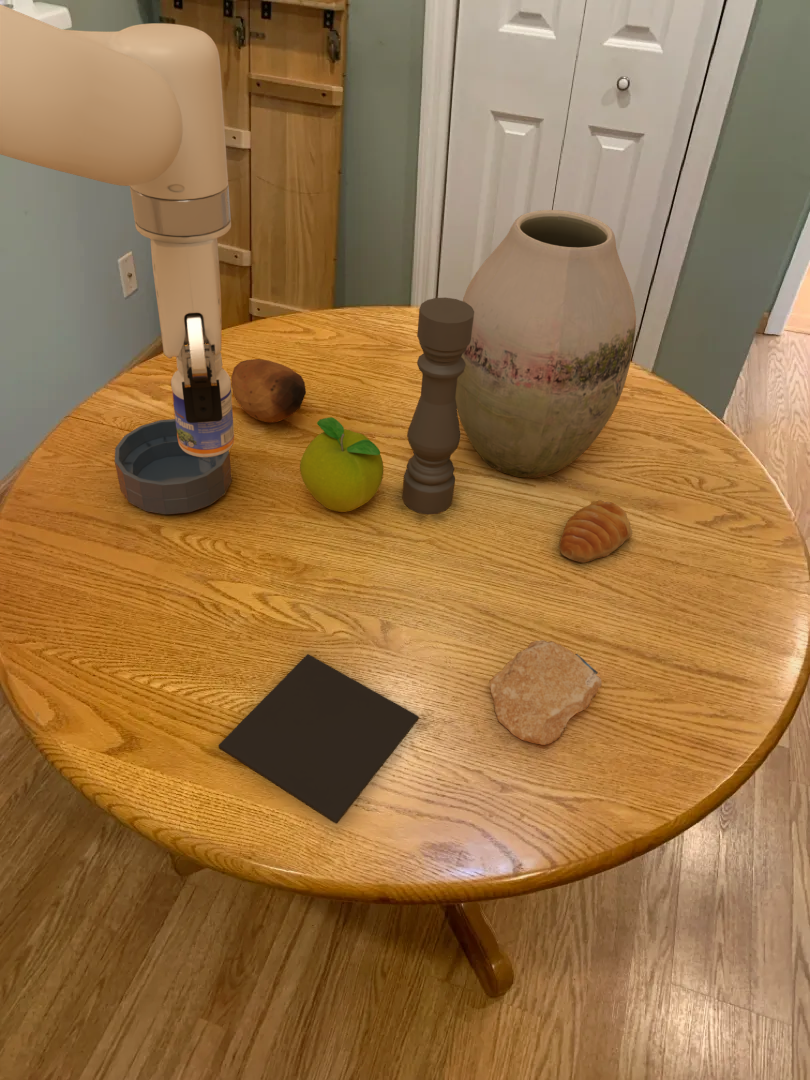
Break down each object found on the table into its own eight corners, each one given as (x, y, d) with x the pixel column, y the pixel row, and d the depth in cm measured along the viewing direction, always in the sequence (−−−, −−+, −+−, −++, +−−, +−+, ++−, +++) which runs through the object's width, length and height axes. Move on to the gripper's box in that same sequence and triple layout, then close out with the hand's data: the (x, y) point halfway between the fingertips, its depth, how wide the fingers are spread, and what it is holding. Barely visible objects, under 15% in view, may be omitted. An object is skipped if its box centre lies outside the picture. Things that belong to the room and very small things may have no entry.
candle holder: (427, 476, 107) (445, 291, 90) (462, 500, 104) (489, 312, 87) (391, 496, 103) (404, 307, 87) (427, 521, 100) (448, 330, 84)
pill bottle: (170, 435, 83) (157, 346, 76) (222, 421, 85) (214, 334, 79) (190, 465, 79) (179, 374, 73) (244, 450, 82) (237, 361, 75)
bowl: (178, 532, 96) (173, 499, 93) (98, 489, 101) (90, 456, 98) (253, 477, 105) (251, 444, 101) (175, 439, 109) (171, 407, 106)
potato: (240, 420, 119) (271, 374, 120) (298, 444, 110) (331, 395, 111) (204, 389, 113) (237, 341, 115) (262, 412, 105) (298, 360, 106)
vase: (591, 412, 120) (643, 199, 100) (614, 508, 104) (681, 277, 84) (442, 402, 120) (464, 186, 100) (442, 496, 104) (469, 262, 84)
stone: (606, 697, 82) (617, 667, 79) (537, 758, 77) (545, 728, 74) (541, 647, 87) (548, 617, 84) (470, 700, 81) (475, 670, 78)
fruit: (343, 469, 107) (344, 402, 100) (394, 505, 102) (399, 437, 96) (286, 499, 102) (283, 430, 95) (337, 538, 97) (338, 469, 90)
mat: (336, 824, 71) (336, 821, 70) (218, 748, 75) (218, 744, 75) (418, 719, 79) (418, 716, 79) (307, 656, 84) (307, 653, 84)
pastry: (592, 577, 95) (599, 552, 92) (542, 549, 98) (548, 524, 95) (633, 537, 100) (641, 513, 98) (585, 512, 104) (591, 487, 101)
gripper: (132, 170, 72) (159, 358, 84) (132, 253, 60) (163, 459, 72) (221, 169, 74) (235, 354, 86) (239, 250, 62) (252, 452, 74)
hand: (202, 400), depth 79 cm, fingers closed on pill bottle, 5 cm apart
